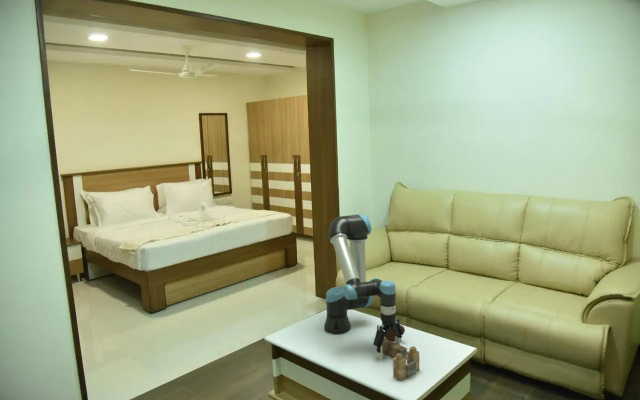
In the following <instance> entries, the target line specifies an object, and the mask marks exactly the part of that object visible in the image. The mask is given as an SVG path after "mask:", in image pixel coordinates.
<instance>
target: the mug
mask: <svg viewBox="0 0 640 400" xmlns="http://www.w3.org/2000/svg"><path fill="white" fill-rule="evenodd" d="M400 325H401V328H402V331H403V333H404V334H405V332H406V329H405V326H403V325H402V324H400ZM395 327H396V326H395ZM396 329H397V328H396ZM395 336H396V335H395V333H394V332H393V331H392V330H391V331H389V332H388V333H387V334H386V336H385V339H387V340H389V341H392V342H395Z"/></svg>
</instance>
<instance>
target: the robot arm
mask: <svg viewBox="0 0 640 400" xmlns="http://www.w3.org/2000/svg"><path fill="white" fill-rule="evenodd" d="M371 233H372V224H371V221H370V219H369V217H368V216H367V215H366V214H364V213H363V214H360V213H359V214H351V215H340V216H338V217H336V218H335V219H333V221H332V222H331V223H330V225H329V230H328V239H329V242H330V243H331V244H332V245H333V248H334V251H335V254H336V257H337V260H338V264H339V267H340V269H341V272H342V275H343V278H344V279H343V280H344V281H345V285H344V286H335V287H331V288H329V289H328V290H327V291H326V292H325V293H326V294H325V296H326V297H325V301H326V304H325V306H326V317H325V321H324V324H323V327H324V328H323V329H324V331H325V332H326V333H327V334H332V335H343V334H347V333H348V332H350V331H351V330H352V329H351V326H352V325H351V322H350V320H349V316H348V311H349V310H355V309H362V308H363V309H364V308H367V307H370V306H371V305H372V303H373V300H374V297H376V296H377V297H378V298H379V300H380V306H379V307H380V321H381V325H377V326H376V333H375V337H374V340H373V346H375V347H376V352H377V358H378V359H380V360H383V359H384V358H383V357H384V354H383V350H382V346H381V345H382V343H383V340H384V338H385V336H386V334H387V333H388V332H389V331H391V330H392V331H393V332H394V333H395V335H396V336H395V341H394V343H396V344H398V345H401V339H402V338H403V335H404V334H405V332H404V333H403V331H402V328H401V325H402V324H401V323H400V319H399V318H397V313H396V312H397V310H396V305H397V304H396V303H397V301H396V298H397V297H396V296H397V295H396V294H397V292H396V291H397V289H396V283H395V282H394V281H393V280H382V279H380V278H377V277H373V278H372V279H370V280H369V281H367V273H366V272H367V270H366V269H367V268H366V264H367V263H366V241H367V239H368V235H371ZM348 242H349V244H348ZM395 326H396V327H395ZM396 328H397V329H396ZM385 339H386V338H385ZM379 343H380V344H379Z"/></svg>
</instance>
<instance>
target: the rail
mask: <svg viewBox="0 0 640 400" xmlns="http://www.w3.org/2000/svg"><path fill="white" fill-rule="evenodd" d="M379 344H380V343H379ZM381 346H382V350H383V356H386V357H389V358H391V359H393V358H395V357H396V355H397V354H398V353H401V354H402V355H403V358H405V359H406V361H407V351H408V350H407V349H408V348H407V347H405V346H403V345H401V344H400V345H398V344H396V343H395V341H389V340H387V339H386V338H384V340H383V343H382V345H381Z"/></svg>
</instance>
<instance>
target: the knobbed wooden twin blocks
mask: <svg viewBox="0 0 640 400" xmlns="http://www.w3.org/2000/svg"><path fill="white" fill-rule="evenodd" d="M392 365H393V366H392V367H393V368H392V369H393V371H392V372H393V373H392V374H393V378H394V379H396V380H397V381H400V382H401V381H403V380H405V379H410V378H412V377H414V376H416V375H417V372H418V371H420V351H418V350H417V348H416V347H415V346H414V345H413V346H411V347H410V348H409V350H407V360H406V359H405V358H403V355H402V354H401V353H398V354H397V355H396V357H395V358H392Z"/></svg>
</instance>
